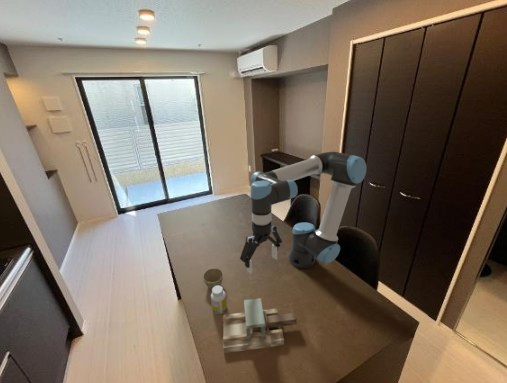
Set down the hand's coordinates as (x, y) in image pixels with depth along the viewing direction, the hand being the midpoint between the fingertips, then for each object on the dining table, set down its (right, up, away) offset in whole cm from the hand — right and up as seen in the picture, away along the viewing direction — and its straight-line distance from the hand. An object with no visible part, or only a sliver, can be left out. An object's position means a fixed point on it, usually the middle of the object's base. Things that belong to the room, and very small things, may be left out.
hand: (262, 264), depth 95 cm
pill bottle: (-19, -23, +8) cm, 31 cm away
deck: (-4, -27, -2) cm, 27 cm away
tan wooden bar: (+5, -23, -3) cm, 24 cm away
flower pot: (-24, -18, +21) cm, 36 cm away
